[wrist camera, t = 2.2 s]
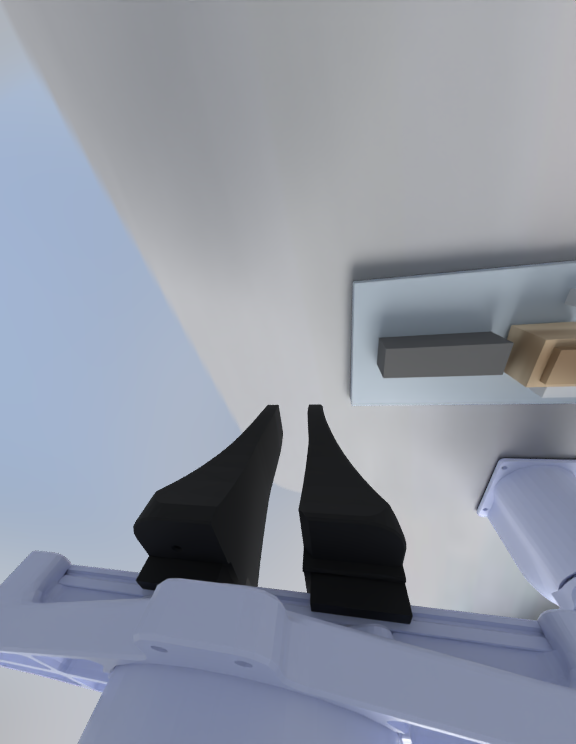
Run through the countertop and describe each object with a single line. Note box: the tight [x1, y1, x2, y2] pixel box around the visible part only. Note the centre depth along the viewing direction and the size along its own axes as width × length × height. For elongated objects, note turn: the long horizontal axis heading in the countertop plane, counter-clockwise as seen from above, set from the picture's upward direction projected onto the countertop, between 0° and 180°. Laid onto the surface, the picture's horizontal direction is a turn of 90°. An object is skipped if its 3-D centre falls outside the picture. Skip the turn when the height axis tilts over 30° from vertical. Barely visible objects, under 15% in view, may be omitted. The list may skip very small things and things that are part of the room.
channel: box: [350, 260, 576, 406], centre depth 17 cm, size 11×28×4 cm, turn 96°
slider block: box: [504, 321, 576, 387], centre depth 16 cm, size 3×4×4 cm
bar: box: [377, 331, 514, 378], centre depth 18 cm, size 2×8×2 cm, turn 97°
